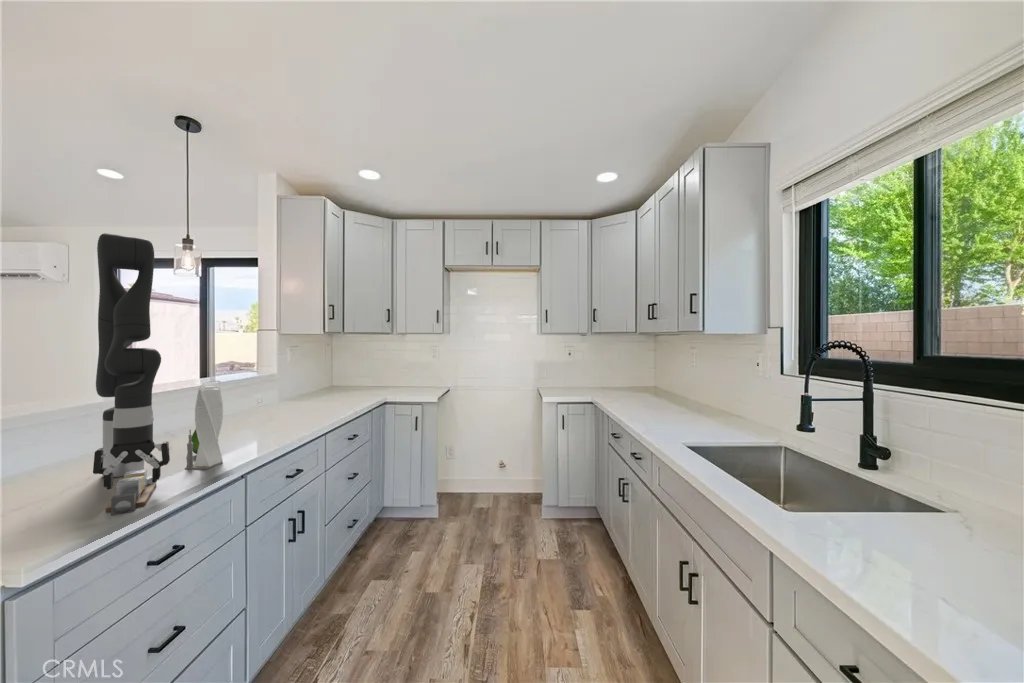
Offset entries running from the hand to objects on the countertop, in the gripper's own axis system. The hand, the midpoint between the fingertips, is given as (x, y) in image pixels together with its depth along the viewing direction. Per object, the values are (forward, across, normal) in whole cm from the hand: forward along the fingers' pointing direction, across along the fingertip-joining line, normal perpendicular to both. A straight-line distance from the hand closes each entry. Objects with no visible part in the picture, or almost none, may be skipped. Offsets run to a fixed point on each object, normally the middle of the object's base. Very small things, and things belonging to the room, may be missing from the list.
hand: (133, 484), depth 102 cm
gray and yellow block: (+3, 0, 0) cm, 3 cm away
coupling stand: (+4, 0, 0) cm, 4 cm away
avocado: (+4, +12, +39) cm, 41 cm away
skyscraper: (+4, +14, +23) cm, 27 cm away
